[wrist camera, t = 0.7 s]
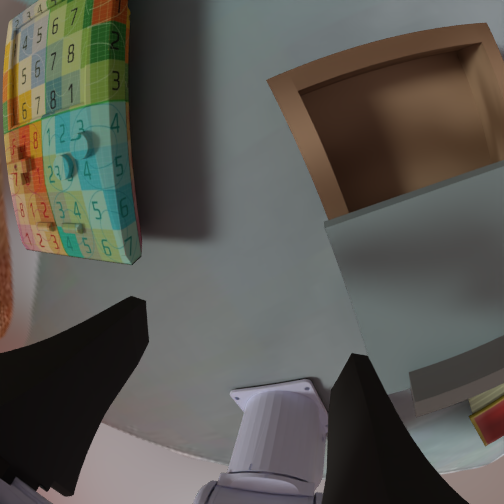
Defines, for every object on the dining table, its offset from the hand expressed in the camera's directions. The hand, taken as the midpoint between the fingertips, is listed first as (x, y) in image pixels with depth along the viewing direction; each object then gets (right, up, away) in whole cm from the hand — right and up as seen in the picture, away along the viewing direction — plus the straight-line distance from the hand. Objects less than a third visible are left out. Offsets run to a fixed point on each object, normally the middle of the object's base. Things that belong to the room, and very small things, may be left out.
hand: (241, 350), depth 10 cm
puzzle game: (-12, +14, +8) cm, 20 cm away
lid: (+12, +1, +3) cm, 12 cm away
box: (+10, +9, +5) cm, 14 cm away
